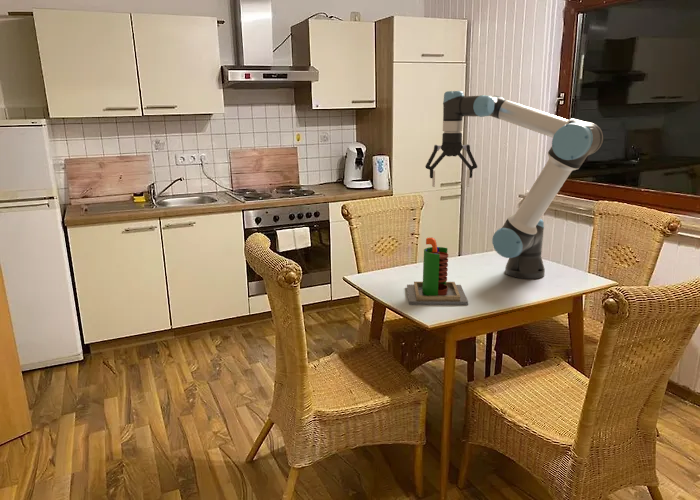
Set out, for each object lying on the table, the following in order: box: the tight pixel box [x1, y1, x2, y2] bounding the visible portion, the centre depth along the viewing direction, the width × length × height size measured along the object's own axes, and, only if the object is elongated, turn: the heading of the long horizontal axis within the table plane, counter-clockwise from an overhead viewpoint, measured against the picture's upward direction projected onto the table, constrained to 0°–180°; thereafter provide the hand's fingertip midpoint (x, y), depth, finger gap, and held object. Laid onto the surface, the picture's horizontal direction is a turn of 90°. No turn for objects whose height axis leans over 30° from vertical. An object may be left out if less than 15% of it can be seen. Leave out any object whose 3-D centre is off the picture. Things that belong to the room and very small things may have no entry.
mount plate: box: [406, 281, 469, 306], centre depth 189 cm, size 20×18×3 cm
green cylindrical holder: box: [422, 237, 449, 295], centre depth 187 cm, size 10×9×20 cm
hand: (450, 186), depth 212 cm, fingers open, 13 cm apart
